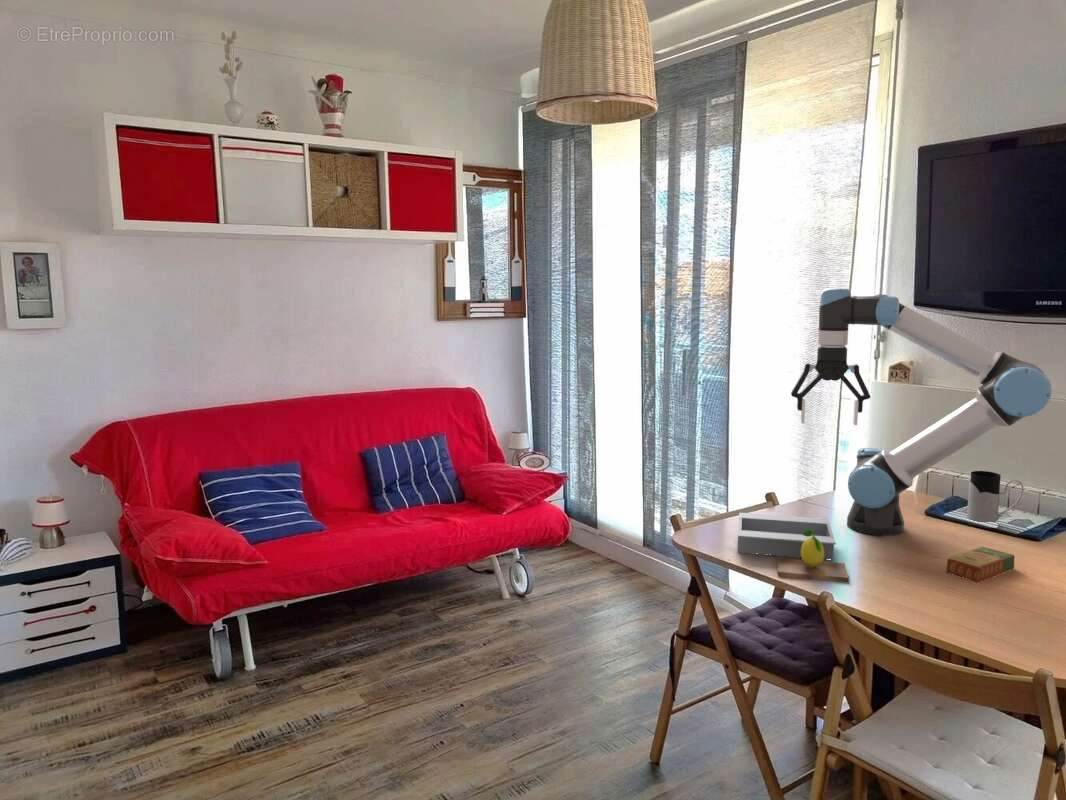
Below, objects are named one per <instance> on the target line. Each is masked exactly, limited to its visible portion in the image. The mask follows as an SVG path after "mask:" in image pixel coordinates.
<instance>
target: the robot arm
mask: <svg viewBox="0 0 1066 800" xmlns="http://www.w3.org/2000/svg"><path fill="white" fill-rule="evenodd" d="M819 299H820V301H819V306H818V307H819V311H818V312H819V314H818V315H819V317H818V336H817V337H818V338H817V344H818V345H819V346H818V347H817V354H816V355H817V358H816V362H815V364H813V363H808V362H806V363H804V368H803V372H802V373H801V375H800V376H799V378H798V379H797V382H796V384H795V386H794V387H793V388H792V390H791V392H790V395H791V397H794V398H796V399H797V404H796V409H797V411H801V412H800V413H801V414H800V422H801V424H805V419H806V417H805V415H806V414H805V413H806V398H804V397H805V396H807V394H808V393H810V391H811V390H812V389H813V388H814V387H815V386H816V385H817V384H818V383H819V382H820V381H822V380H823V381H836V382H837V381H839V380H841V381H842V383H843V384H845V385H846V387H847V388H848V389H849V390H850V392H851V393H852V394H853V395H854V396H855V397H856V399H854V401H853V416H852V417H853V418H852V424H853V425H854V426H858V422H859V420H858V418H859V413H863V406H864V405H863V403H864V401H865V400H870V399H871V395H870V392H869V390H868V389H867V385H866V383H865V382H864V380H863V378H862V376H861V374H860V366H859V365H858V364H857V363H854V364H848V362H847V361H848V348H847V347H846V346H847V345H848V343H849V325H863V326H865V325H866V326H881V327H883V328H885V329H887V330H889V331H891V332H893V333H895V334H896V335H898V336H901V337H902V338H904V339H906V340H908V341H909V342H912V343H913V344H915V345H917V346H919V347H920V348H923V350H925V351H928V352H930V353H931V354H933V355H936V356H937V357H938V358H941V359H942V360H945V361H946V362H949V363H950V364H952V365H954V366H956V367H958V368H959V369H962V370H963V371H965V372H967V373H969V374H970V375H972V376H974V377H976V378H977V381H978V383H979V384H981V386H979V387H978V388H977V389H976V393H975V397H974V398H973V399H971V400H969V401H968V402H966V403H964V404H962V406H960V407H958V408H957V409H956V410H954V411H953V412H951V413H949V414H947V415H946V416H944V417H943V418H941V419H940V420H938V421H937V422H935V423H934V424H932V425H930V426H929V427H927V428H925V429H924V430H923V431H921V432H919V433H918V434H916V435H914V436H913V437H912V438H910V439H908V440H907V441H906V442H904V443H902V444H901V445H898V447H896V448H894V449H886V448H874V447H862V448H859V449H858V450H857V455H856V460H857V461H856V466H855V467H854V468H853V470H852V471H851V473H850V474H849V476H848V481H847V488H848V493H849V495H850V497H852V499H853V503H852V505H851V507H850V509H849V510H850V511H849V512H848V515H847V518H846V525H847V527H848V528H849V527H850V528H849V529H852V530H853V531H857V532H859V533H862V534H868V535H876V536H895V535H900V534H903V533H904V532H905V521H904V517H903V514H902V510H901V507H900V494H901V493H903V492H904V491H906V490H907V489H909V488H911V487H912V486H913V482H914V478H915V477H916V476H919V475H920V474H922V473H923V472H925V471H927V470H928V469H930V468H933V466H934V465H937V464H938V463H940V462H941V461H943V460H944V459H947V458H948V457H949V456H951V455H952V454H954V453H956V452H957V451H959V450H961V449H962V448H964V447H966V446H967V445H969V444H971V443H973V442H974V441H975V440H977V439H978V438H981V437H982V436H983V435H985V434H987V433H988V432H990V431H992V430H993V429H995V428H996V427H998V426H999V427H1000V426H1001V427H1007V428H1009V427H1010V426H1012V425H1013V424H1015V423H1018V421H1020V420H1022V419H1024V418H1026V417H1031V416H1033V415H1037V414H1038V413H1040V412H1041V411H1042V410H1043V409H1045V408H1046V407H1047V405H1048V403H1049V401H1050V400H1051V398H1052V397H1051V396H1052V384H1051V381H1050V379H1049V378H1048V377H1047V375H1046V374H1045V373H1044V371H1043V370H1042V369H1041V368H1040V367H1039V366H1037V365H1035V364H1033V363H1030V362H1028V361H1025V360H1021V359H1019V358H1016V357H1013V356H1011V355H1009V354H1007V353H1005V352H1003V351H997V352H994V351H992V350H991V349H989V348H987V347H985V346H983V345H981V344H979V343H978V342H976V341H974V340H971V339H970V338H967V337H966V336H964V335H962V334H960V333H958V332H956V331H954V330H952V329H950V328H949V327H947V326H944V325H943V324H941V323H939V322H937V321H935V320H933V319H932V318H929V317H927V316H925V315H924V314H922V313H919V312H918V311H917V310H916V311H915V310H914V309H911V308H910V307H908V306H906V305H904V304H902V303H901V302H900V300H899V298H898V297H897V296H889V295H887V294H876V295H866V296H864V295H862V296H858V295H855V296H854V295H852V294H851V289H850V288H824V289H823V290H821V293H820V298H819ZM813 370H816V372H817V374H816V375H815V376H814V377H813V379H811V381H810V382H809V383H808V384H807V385H806V386H805V387H804V388H803V389H802V390H801V391H800V389H801V388H802V387H803V384H804V382H805V381H806V379H807V377H808V376H809V373H811V372H812V371H813ZM848 370H850V373H852V374H853V375H854V377H855V379H856V381H857V384H858V385H859V387H860V389H861V391H862V393H863V394H861V393H860V392H859V391H858V390H857V389H856V387H854V386H853V384H852V383H851V382H850V381H849V379H848V378H847V377H846V376H845V374H846V373H847V372H848ZM799 391H800V392H799Z"/></svg>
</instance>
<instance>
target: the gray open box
mask: <svg viewBox="0 0 1066 800" xmlns="http://www.w3.org/2000/svg"><path fill="white" fill-rule="evenodd" d="M737 528H738V530H737V553H738V554H747V553H755V554H754V555H759V554H768V555H767V556H771V555H779V556H778V557H783V556H789V557H788V558H796V557H801V547H802V544H803V543H804V541H805V540H807V539H809V538H812V537H813V536H804V535H803V533H804V531H805V530H806V529H810V530H811V531H812V532H813V529H814V537H815V538H817V539H818V540H819V541H820V542H821V543H822V545H823V547H824V559H831V560H830V561H832V560H833V561H834V546H835V545H836V544H837V543H836V539H835V536H834V533H833V530H832V527H831V522H830V520H829V518H823V517H821V518H820V517H806V516H793V515H782V514H781V515H780V514H767V513H765V514H764V513H749V512H739V514H738V527H737ZM740 552H741V553H740ZM756 553H758V554H756ZM770 554H771V555H770Z"/></svg>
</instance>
